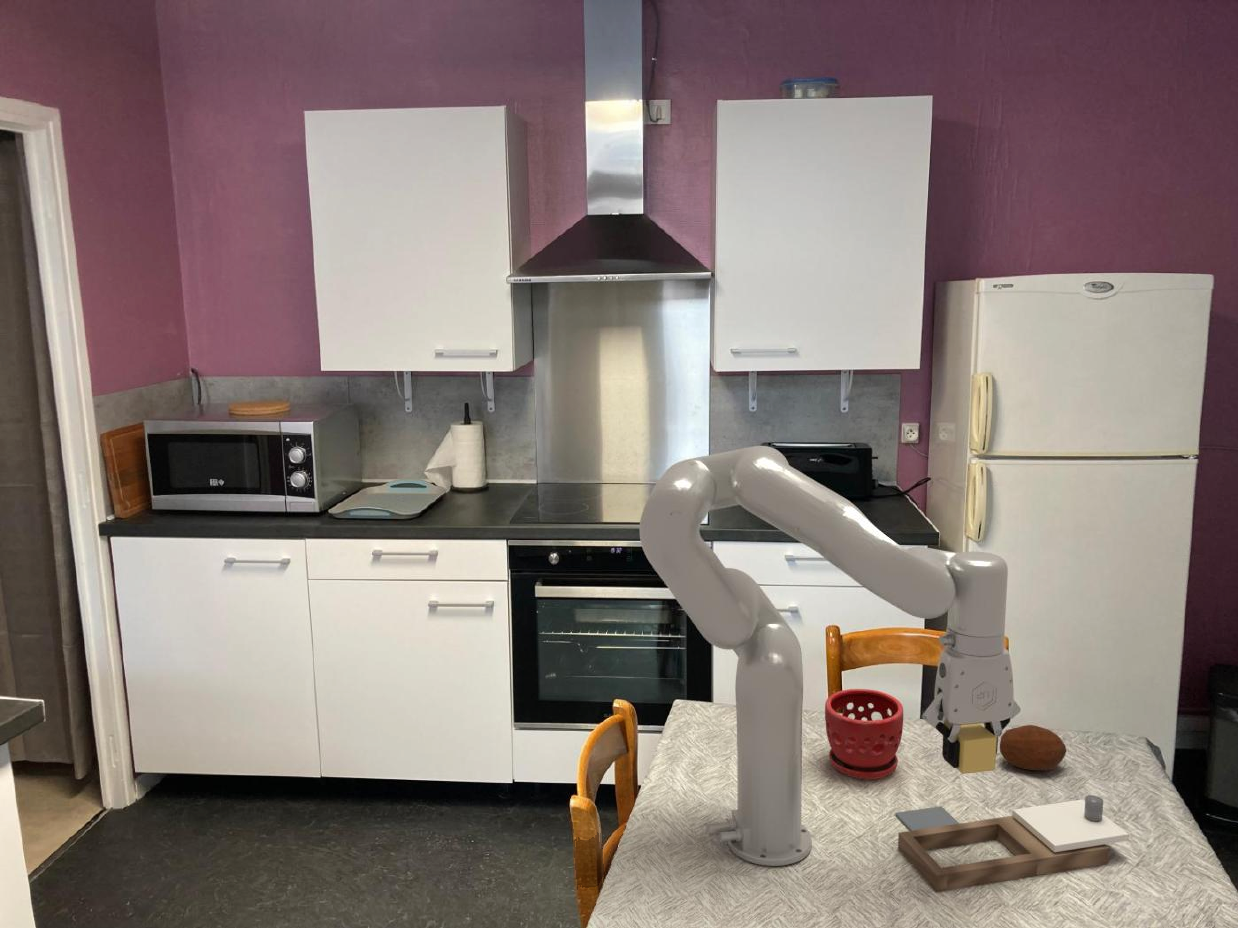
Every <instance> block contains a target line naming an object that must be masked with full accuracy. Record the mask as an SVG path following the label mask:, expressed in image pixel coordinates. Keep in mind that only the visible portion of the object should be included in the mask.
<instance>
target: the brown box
mask: <svg viewBox="0 0 1238 928" xmlns="http://www.w3.org/2000/svg"><path fill="white" fill-rule="evenodd" d="M897 836H898V837H897V838H898V839H897V848H898V850H899V851H900V852H901V853H902V854H903V856H905V858H906V859H907V860H908V861H909V862H910V863H911V864H912V866H913V867H914V868H915V869H916V870H917V871H918V872H919V873H920V875H921V876H922V877H923V878H924V879H925V880H926V882H928V884H929V885H930V886H931V887H932V888H933V890H935V892H936V893H938V892H944V891H951V890H958V889H964V888H969V887H973V886H974V887H975V886H981V885H987V884H993V883H1000V882H1005V881H1011V880H1017V879H1024V878H1030V877H1037V876H1041V875H1048V874H1053V873H1058V872H1066V871H1072V870H1078V869H1084V868H1091V867H1096V866H1102V865H1108V864H1109V860H1110V858H1109V857H1110V856H1109V855H1110V847H1109V846H1108V845H1107V844H1104V845H1097V846H1091V847H1085V848H1079V849H1072V850H1066V851H1060V852H1054V851H1053V850H1051V849H1050V848H1049V847H1048V846H1047V845H1046V844H1044V843H1043V842H1042V841H1041V840H1040V839H1039V838H1037V837H1036V836H1035V835H1034V834H1033V833H1032V832H1030V831H1029V830H1028V829H1027V828H1026V827H1025V826H1024V825H1022V824H1021V823H1020V822H1019V821H1018V820H1017V819H1015V818H1014V817H1013V816H1012V815H1009V816H1002V817H994V818H988V819H982V820H975V821H967V822H962V823H960V822H959V824H954V825H947V826H940V827H934V828H927V829H920V830H914V831H910V830H909V831H908V830H907V831H903V832H902V831H901V832H898V835H897ZM996 840H998V841H999V842H1000V843H1001V844H1002V845H1003V846H1005V848H1007V849H1008V850H1009V851H1010V852H1011V853H1012V854H1013V856H1008V857H1007V856H1006V857H1000V858H995V859H988V860H982V861H980V860H979V861H975V862H968V863H964V864H962V863H961V864H956V865H949V866H945V867H943V866H941V865H939V863H938V862H937V861H936V860H935V859H934V858H933V857H932V856H931V855H930V854H929V852H928V851H929V850H937V849H942V848H949V847H955V846H956V847H957V846H961V845H962V846H963V845H968V844H975V843H982V842H989V841H996Z"/></svg>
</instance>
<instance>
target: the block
mask: <svg viewBox="0 0 1238 928" xmlns="http://www.w3.org/2000/svg"><path fill="white" fill-rule="evenodd" d="M950 727H951V726H950ZM957 741H958V742H960V753H959V767H958V768H955V769H956V770H957V771H959V773H961V774H962V775H966V774H967V775H968V774H974V773H975V774H976V773H982V772H991V771H996V762H997V761H996V760H997V759H996V758H997V754H996V742H997V737H996V736H995V735H993V734H992V733H991V732H990V731H988V730H987V729H986V728H984V725H982V724H981V723H978V724H969V725H961V727H960V730H959V734H958V737H957ZM995 761H996V762H995Z"/></svg>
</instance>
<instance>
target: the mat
mask: <svg viewBox="0 0 1238 928" xmlns="http://www.w3.org/2000/svg"><path fill="white" fill-rule="evenodd" d="M894 814H895V815H894V816H895V817H896V818H897V819H898V820H899V821H900V822H901V823H902V825H904V826H905V828H906V829H908V830H909V831H914V830H920V829H927V828H934V827H940V826H947V825H954V824H960V822H958V821H957V819H956V818H955V817H953V816H952V815H951V814H950V813H949V812H948V811H947V810H946V809H945V808H944V807H943V806H942V805H940V806H935V807H927V808H920V809H913V810H906V811H897V812H895V813H894Z"/></svg>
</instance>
